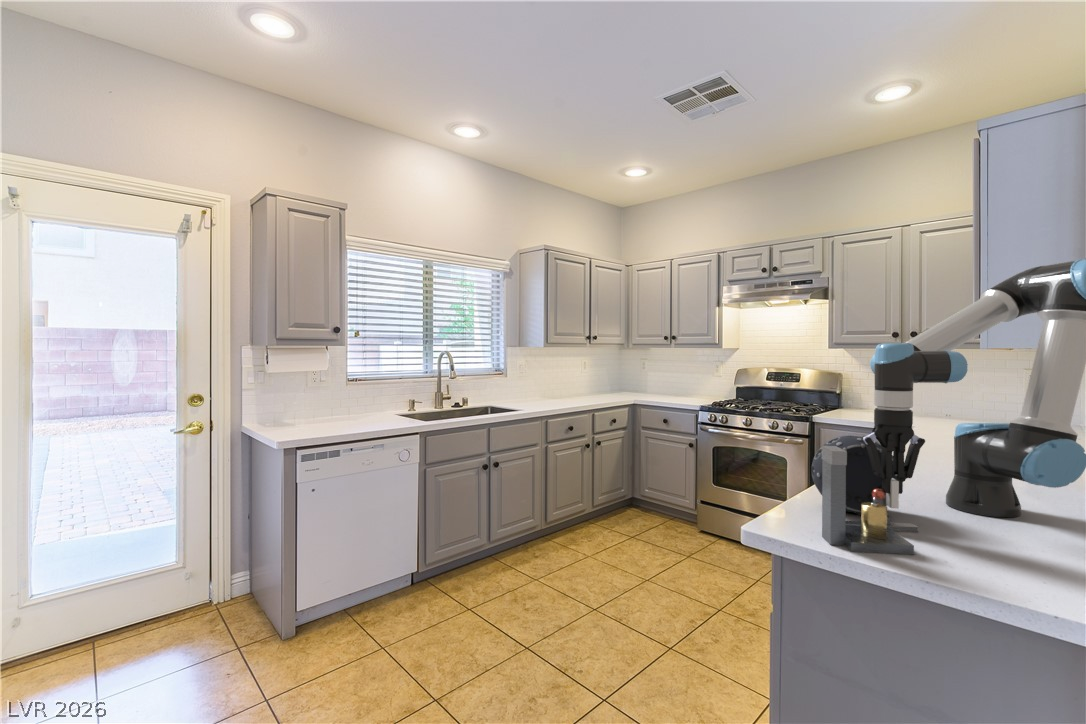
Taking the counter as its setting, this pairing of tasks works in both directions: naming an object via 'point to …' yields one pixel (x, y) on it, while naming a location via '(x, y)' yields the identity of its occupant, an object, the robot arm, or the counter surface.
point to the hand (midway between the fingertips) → (892, 506)
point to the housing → (874, 520)
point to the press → (835, 513)
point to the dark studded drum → (852, 471)
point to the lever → (879, 500)
